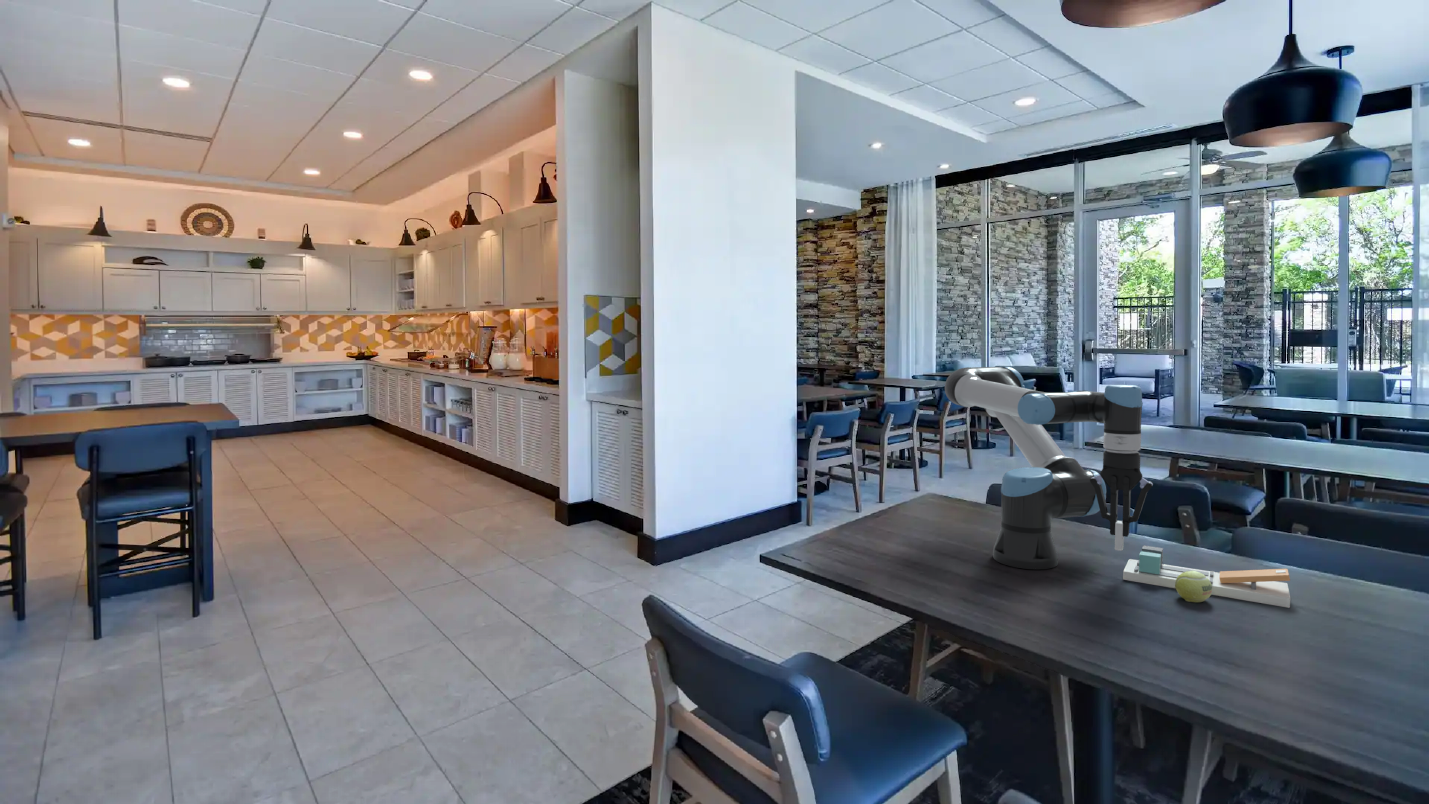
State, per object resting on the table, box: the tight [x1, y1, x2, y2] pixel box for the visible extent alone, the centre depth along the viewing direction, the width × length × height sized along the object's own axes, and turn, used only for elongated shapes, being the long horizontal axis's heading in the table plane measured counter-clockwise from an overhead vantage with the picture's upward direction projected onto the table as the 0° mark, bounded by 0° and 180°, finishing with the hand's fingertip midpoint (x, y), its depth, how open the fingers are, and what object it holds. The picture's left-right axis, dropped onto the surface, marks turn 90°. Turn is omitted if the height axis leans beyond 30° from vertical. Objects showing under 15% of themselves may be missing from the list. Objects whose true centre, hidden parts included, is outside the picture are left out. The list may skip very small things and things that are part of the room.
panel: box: [1122, 558, 1291, 609], centre depth 155 cm, size 30×11×3 cm, turn 53°
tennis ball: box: [1174, 571, 1212, 603], centre depth 147 cm, size 6×7×7 cm
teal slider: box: [1138, 550, 1161, 574], centre depth 158 cm, size 4×3×4 cm
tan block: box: [1219, 568, 1291, 583], centre depth 149 cm, size 12×5×1 cm, turn 52°
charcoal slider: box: [1141, 545, 1164, 567], centre depth 163 cm, size 4×3×4 cm
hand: (1119, 548), depth 162 cm, fingers closed
